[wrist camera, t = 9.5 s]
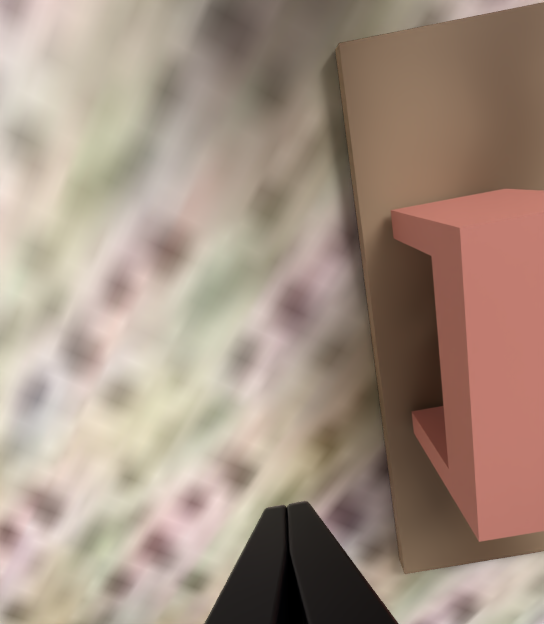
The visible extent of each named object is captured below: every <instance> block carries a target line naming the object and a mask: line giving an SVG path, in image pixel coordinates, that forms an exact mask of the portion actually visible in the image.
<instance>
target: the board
mask: <svg viewBox="0 0 544 624" xmlns="http://www.w3.org/2000/svg"><path fill="white" fill-rule="evenodd" d="M335 52H336V60H337V68H338V76H339V84H340V92H341V99H342V107H343V115H344V123H345V131H346V139H347V147H348V155H349V163H350V171H351V179H352V186H353V194H354V202H355V210H356V218H357V226H358V234H359V242H360V250H361V258H362V266H363V273H364V281H365V289H366V297H367V305H368V313H369V321H370V329H371V337H372V345H373V353H374V360H375V368H376V376H377V384H378V392H379V400H380V408H381V416H382V424H383V432H384V440H385V447H386V455H387V463H388V471H389V479H390V487H391V495H392V503H393V511H394V519H395V527H396V534H397V542H398V550H399V558H400V562H401V565H402V568H403V570H404V573H405V574H408V573H414V572H420V571H426V570H432V569H438V568H445V567H451V566H457V565H463V564H469V563H475V562H481V561H487V560H493V559H499V558H505V557H511V556H517V555H523V554H529V553H535V552H541V551H544V531H541V532H535V533H529V534H523V535H517V536H511V537H505V538H499V539H493V540H487V541H481V542H479V541H478V539H477V537H476V536H475V534H474V532H473V531H472V529H471V527H470V526H469V524H468V522H467V521H466V519H465V517H464V516H463V514H462V512H461V511H460V509H459V507H458V506H457V504H456V502H455V501H454V499H453V497H452V496H451V494H450V492H449V491H448V489H447V487H446V486H445V484H444V482H443V481H442V479H441V477H440V476H439V474H438V472H437V471H436V469H435V467H434V466H433V464H432V462H431V461H430V459H429V457H428V456H427V454H426V452H425V451H424V449H423V447H422V446H421V444H420V443H419V441H418V439H417V438H416V436H415V434H414V430H413V420H412V411H417V410H423V409H429V408H434V407H440V406H444V405H443V393H442V380H441V368H440V356H439V343H438V331H437V319H436V306H435V294H434V281H433V269H432V257H431V256H430V255H428V254H426V253H424V252H422V251H420V250H417V249H415V248H413V247H411V246H409V245H407V244H404V243H402V242H400V241H398V240H396V239H394V238H393V228H392V219H391V210H394V209H400V208H405V207H410V206H415V205H421V204H426V203H431V202H437V201H442V200H447V199H453V198H458V197H463V196H469V195H474V194H479V193H485V192H490V191H495V190H501V189H522V190H542V191H544V2H543V3H538V4H533V5H528V6H523V7H518V8H513V9H508V10H503V11H498V12H493V13H488V14H483V15H478V16H473V17H467V18H462V19H457V20H452V21H447V22H442V23H437V24H432V25H427V26H422V27H417V28H412V29H407V30H402V31H397V32H392V33H387V34H382V35H377V36H372V37H367V38H362V39H357V40H352V41H347V42H342V43H339V44H338V46H337V48H336V49H335Z"/></svg>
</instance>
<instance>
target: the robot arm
mask: <svg viewBox="0 0 544 624" xmlns="http://www.w3.org/2000/svg"><path fill="white" fill-rule="evenodd" d="M205 624H398V622H397V621H396V620H395V618H394V617H393V616H392V614H391V613H390V612H389V610H388V609H387V607H386V606H385V605H384V603H383V602H382V601H381V599H380V598H379V597H378V595H377V594H376V593H375V591H374V590H373V589H372V587H371V586H370V585H369V583H368V582H367V580H366V579H365V578H364V576H363V575H362V574H361V572H360V571H359V570H358V568H357V567H356V566H355V564H354V563H353V562H352V560H351V559H350V557H349V556H348V555H347V553H346V552H345V551H344V549H343V548H342V547H341V545H340V544H339V543H338V541H337V540H336V539H335V537H334V536H333V535H332V533H331V532H330V530H329V529H328V528H327V526H326V525H325V524H324V522H323V521H322V520H321V518H320V517H319V516H318V514H317V513H316V512H315V510H314V509H313V508H312V506H311V505H310V504H309V503H308V502H307V501H303V502H297V503H291V504H289V505H288V506H287V507H286V506H285V505H279V506H273V507H268V508H266V509H265V510H264V512H263V513H262V515H261V517H260V519H259V521H258V523H257V525H256V527H255V529H254V531H253V532H252V534H251V536H250V538H249V540H248V542H247V544H246V546H245V548H244V550H243V551H242V553H241V555H240V557H239V559H238V561H237V563H236V565H235V567H234V569H233V570H232V572H231V574H230V576H229V578H228V580H227V582H226V584H225V586H224V588H223V589H222V591H221V593H220V595H219V597H218V599H217V601H216V603H215V605H214V607H213V608H212V610H211V612H210V614H209V616H208V618H207V620H206V622H205Z"/></svg>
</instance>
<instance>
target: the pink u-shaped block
mask: <svg viewBox="0 0 544 624" xmlns="http://www.w3.org/2000/svg"><path fill="white" fill-rule="evenodd" d="M391 219H392V228H393V238H394V239H396V240H398V241H400V242H402V243H404V244H407V245H409V246H411V247H413V248H415V249H417V250H420V251H422V252H424V253H426V254H428V255H430V256H431V257H432V269H433V281H434V294H435V306H436V319H437V331H438V343H439V356H440V368H441V380H442V393H443V405H444V406H440V407H434V408H429V409H423V410H417V411H412V420H413V430H414V434H415V436H416V438H417V439H418V441H419V443H420V444H421V446H422V447H423V449H424V451H425V452H426V454H427V456H428V457H429V459H430V461H431V462H432V464H433V466H434V467H435V469H436V471H437V472H438V474H439V476H440V477H441V479H442V481H443V482H444V484H445V486H446V487H447V489H448V491H449V492H450V494H451V496H452V497H453V499H454V501H455V502H456V504H457V506H458V507H459V509H460V511H461V512H462V514H463V516H464V517H465V519H466V521H467V522H468V524H469V526H470V527H471V529H472V531H473V532H474V534H475V536H476V537H477V539H478V541H479V542H481V541H487V540H493V539H499V538H505V537H511V536H517V535H523V534H529V533H535V532H541V531H544V191H542V190H522V189H501V190H495V191H490V192H485V193H479V194H474V195H469V196H463V197H458V198H453V199H447V200H442V201H437V202H431V203H426V204H421V205H415V206H410V207H405V208H400V209H394V210H391Z"/></svg>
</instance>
